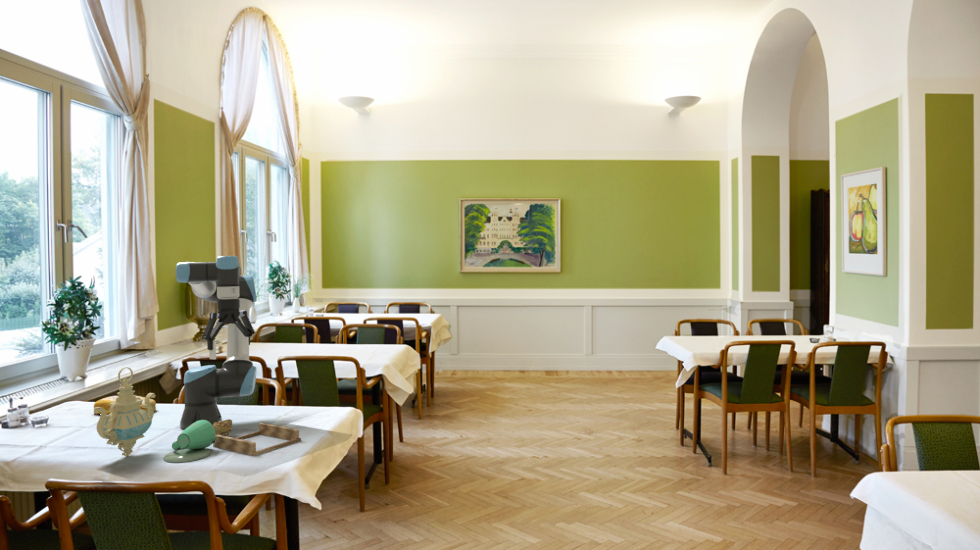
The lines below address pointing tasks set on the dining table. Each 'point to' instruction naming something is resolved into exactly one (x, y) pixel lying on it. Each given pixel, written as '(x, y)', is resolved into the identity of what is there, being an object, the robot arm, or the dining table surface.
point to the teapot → (125, 418)
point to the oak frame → (250, 447)
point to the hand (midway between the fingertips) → (229, 356)
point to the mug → (196, 436)
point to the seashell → (223, 427)
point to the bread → (106, 401)
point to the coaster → (186, 455)
